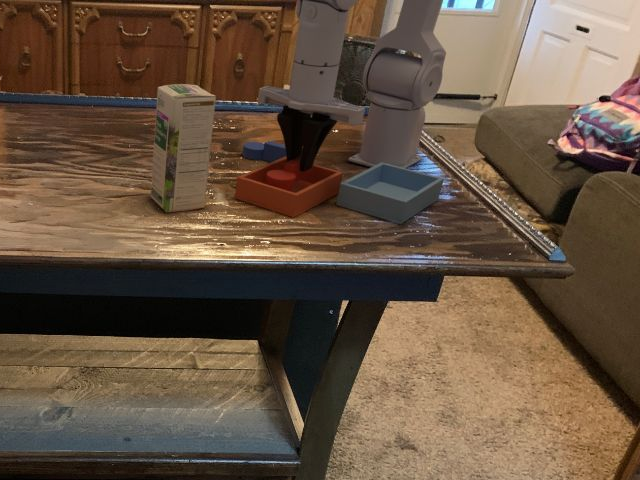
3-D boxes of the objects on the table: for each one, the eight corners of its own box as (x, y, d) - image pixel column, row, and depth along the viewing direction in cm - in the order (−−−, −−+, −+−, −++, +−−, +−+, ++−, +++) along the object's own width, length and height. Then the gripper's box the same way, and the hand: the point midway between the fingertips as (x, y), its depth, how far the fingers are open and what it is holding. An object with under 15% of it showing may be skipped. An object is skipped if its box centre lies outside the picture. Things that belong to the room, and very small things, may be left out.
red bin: (282, 176, 110) (285, 156, 108) (339, 193, 105) (343, 172, 104) (234, 198, 103) (237, 177, 101) (293, 217, 98) (297, 195, 96)
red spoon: (284, 193, 99) (287, 174, 97) (259, 186, 101) (262, 166, 99) (319, 176, 105) (322, 157, 103) (295, 169, 107) (298, 151, 105)
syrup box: (149, 197, 102) (154, 85, 93) (188, 193, 104) (197, 82, 95) (165, 213, 97) (172, 96, 89) (207, 208, 99) (217, 93, 91)
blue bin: (376, 182, 109) (381, 161, 108) (438, 199, 105) (444, 178, 103) (336, 204, 102) (340, 183, 100) (400, 224, 97) (406, 202, 95)
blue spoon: (237, 155, 117) (239, 138, 116) (251, 150, 120) (253, 133, 118) (289, 170, 112) (292, 153, 111) (302, 164, 115) (305, 147, 113)
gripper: (250, 56, 97) (238, 161, 104) (353, 77, 89) (332, 188, 97) (279, 48, 101) (266, 150, 109) (380, 68, 93) (358, 175, 101)
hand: (299, 167), depth 103 cm, fingers closed on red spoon
